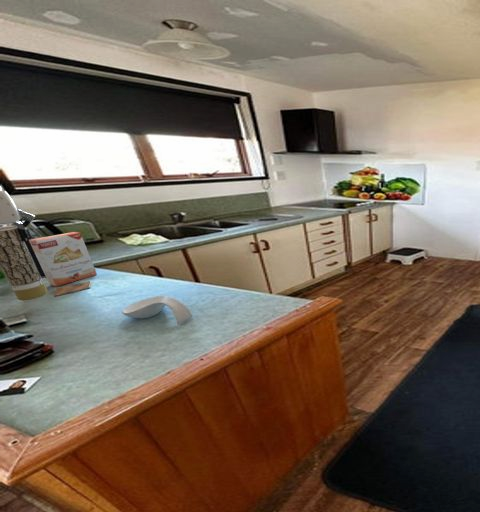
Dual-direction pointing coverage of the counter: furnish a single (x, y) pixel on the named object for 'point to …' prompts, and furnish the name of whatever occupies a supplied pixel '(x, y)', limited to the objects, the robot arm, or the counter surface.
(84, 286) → the coaster
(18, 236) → the bark print canister
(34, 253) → the wine bottle
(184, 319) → the spoon rest
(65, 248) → the cracker box
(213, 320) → the counter surface
